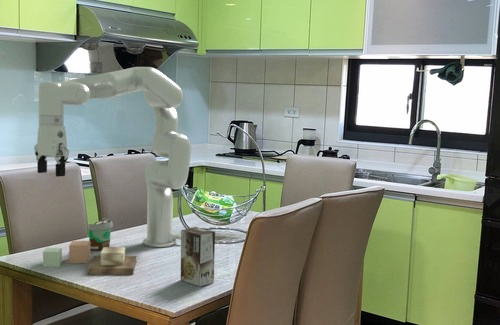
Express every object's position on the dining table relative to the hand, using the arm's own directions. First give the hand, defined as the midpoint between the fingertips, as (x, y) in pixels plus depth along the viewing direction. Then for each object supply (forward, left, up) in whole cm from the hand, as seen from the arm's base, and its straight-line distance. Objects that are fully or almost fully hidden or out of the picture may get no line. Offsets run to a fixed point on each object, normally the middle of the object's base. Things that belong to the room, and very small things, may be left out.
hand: (51, 174), depth 194 cm
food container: (-14, -22, -30) cm, 40 cm away
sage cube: (0, -2, -30) cm, 30 cm away
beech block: (-20, +2, -28) cm, 35 cm away
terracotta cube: (-8, -7, -30) cm, 32 cm away
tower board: (-20, +2, -30) cm, 36 cm away
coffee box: (-47, +16, -30) cm, 58 cm away
